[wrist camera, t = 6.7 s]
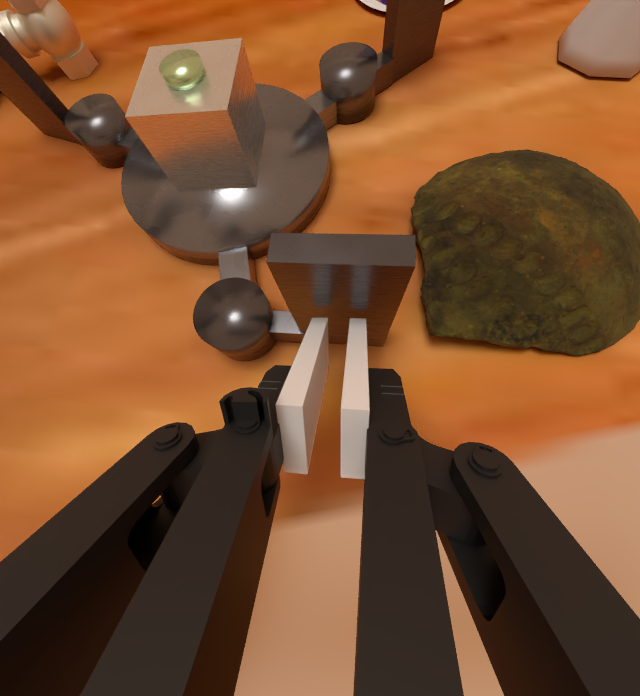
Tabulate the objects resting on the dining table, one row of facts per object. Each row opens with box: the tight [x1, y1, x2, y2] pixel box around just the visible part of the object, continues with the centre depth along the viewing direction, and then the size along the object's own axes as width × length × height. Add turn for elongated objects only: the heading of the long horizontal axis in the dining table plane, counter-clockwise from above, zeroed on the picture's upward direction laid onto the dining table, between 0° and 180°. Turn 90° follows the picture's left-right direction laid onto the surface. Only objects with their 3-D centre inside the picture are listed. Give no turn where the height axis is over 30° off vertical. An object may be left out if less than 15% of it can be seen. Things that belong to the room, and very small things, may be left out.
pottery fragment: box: [411, 150, 640, 356], centre depth 17 cm, size 14×14×4 cm
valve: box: [0, 0, 98, 92], centre depth 26 cm, size 7×7×12 cm
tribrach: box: [0, 0, 445, 285], centre depth 19 cm, size 36×25×9 cm
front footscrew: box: [193, 233, 415, 361], centre depth 14 cm, size 11×4×9 cm, turn 84°
